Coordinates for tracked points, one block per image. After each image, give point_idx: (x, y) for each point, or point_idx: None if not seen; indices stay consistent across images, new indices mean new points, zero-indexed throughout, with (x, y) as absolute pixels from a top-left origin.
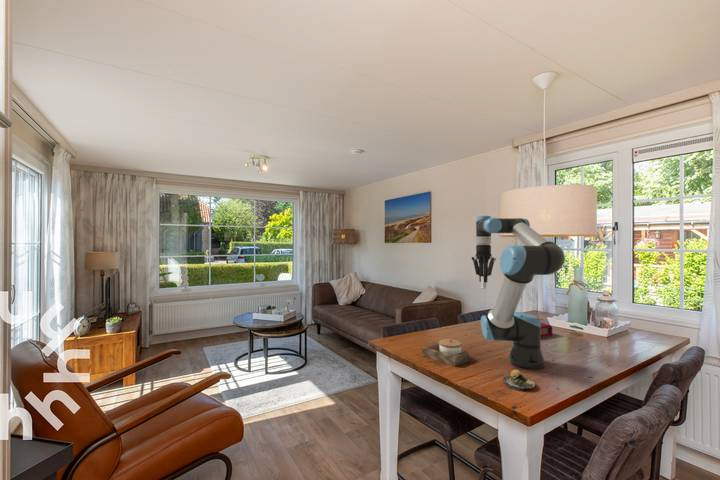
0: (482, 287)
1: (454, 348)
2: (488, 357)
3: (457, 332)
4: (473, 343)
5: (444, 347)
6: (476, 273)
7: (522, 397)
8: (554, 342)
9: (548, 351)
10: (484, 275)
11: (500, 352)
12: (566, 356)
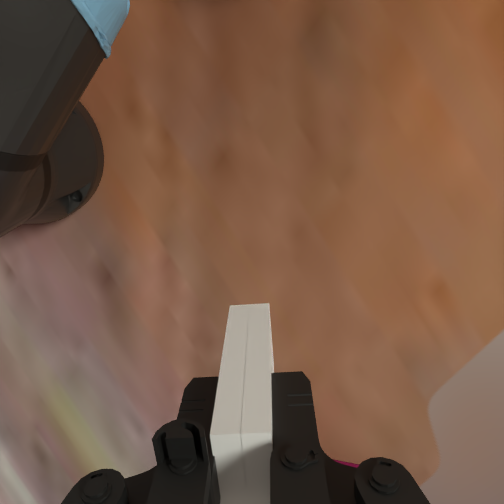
0: (242, 312)
1: None
2: (168, 70)
3: (495, 298)
4: (337, 204)
5: None
6: (394, 476)
7: None
8: (136, 468)
9: (82, 356)
10: (177, 453)
11: (180, 187)
12: (14, 351)
